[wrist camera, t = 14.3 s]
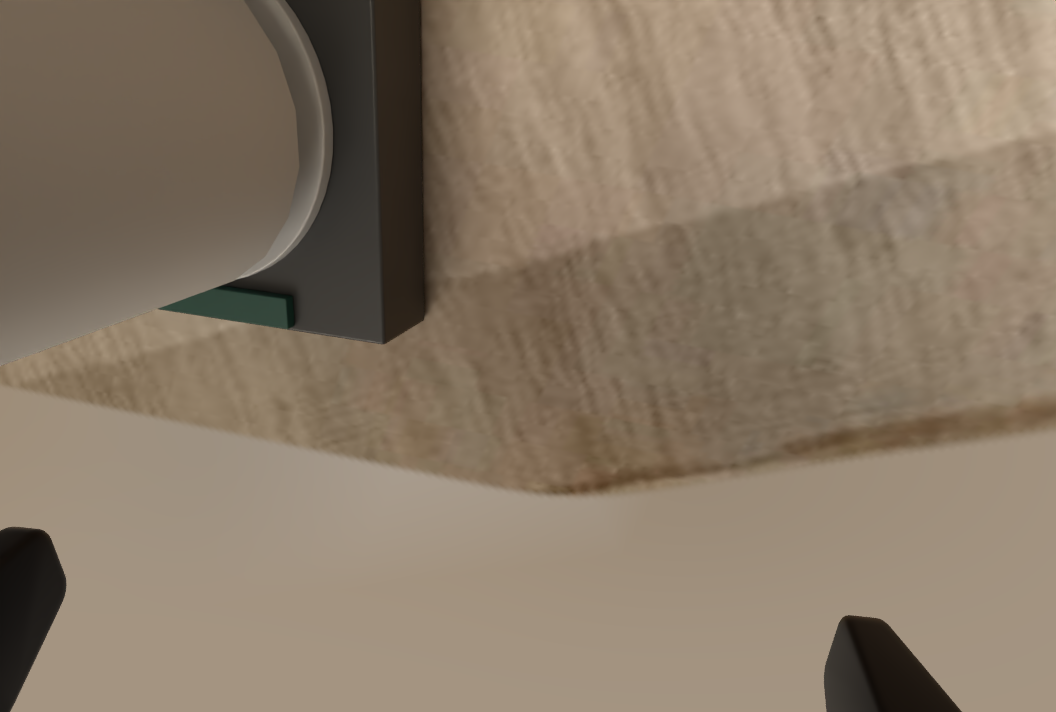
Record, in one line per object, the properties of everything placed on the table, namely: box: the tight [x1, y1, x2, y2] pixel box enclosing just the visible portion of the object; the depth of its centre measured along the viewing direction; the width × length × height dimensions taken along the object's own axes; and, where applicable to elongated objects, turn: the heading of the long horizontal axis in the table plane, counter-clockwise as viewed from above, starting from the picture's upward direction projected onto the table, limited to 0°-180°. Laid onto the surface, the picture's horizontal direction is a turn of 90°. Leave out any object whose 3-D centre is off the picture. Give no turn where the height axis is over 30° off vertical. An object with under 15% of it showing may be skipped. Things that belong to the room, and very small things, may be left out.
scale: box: [158, 0, 424, 344], centre depth 21 cm, size 10×10×3 cm
